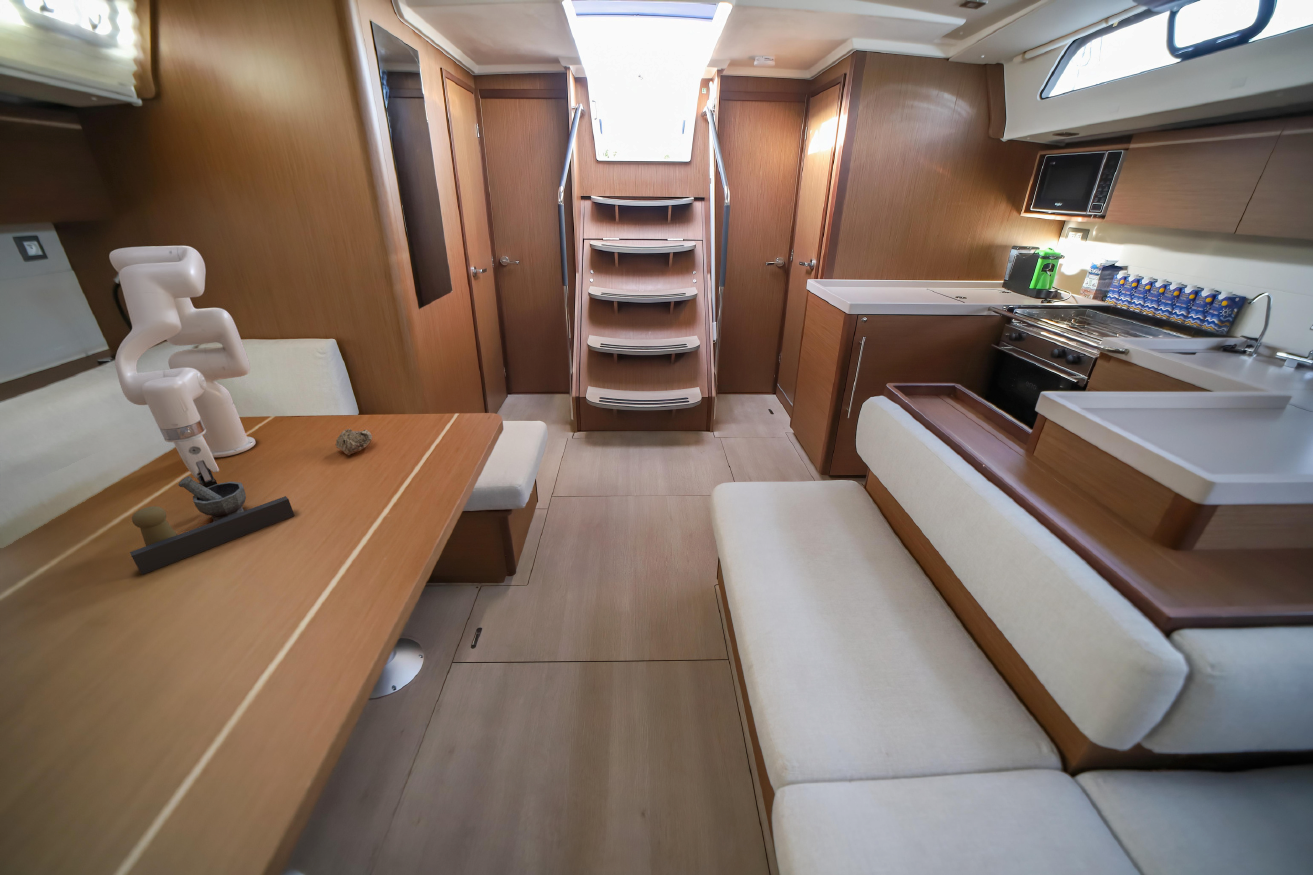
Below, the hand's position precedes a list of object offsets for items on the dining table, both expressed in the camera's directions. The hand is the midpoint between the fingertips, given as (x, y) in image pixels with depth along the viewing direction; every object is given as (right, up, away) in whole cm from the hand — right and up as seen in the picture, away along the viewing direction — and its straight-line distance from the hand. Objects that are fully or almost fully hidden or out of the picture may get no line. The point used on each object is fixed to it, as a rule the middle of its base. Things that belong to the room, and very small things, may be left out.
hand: (213, 495), depth 126 cm
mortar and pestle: (+5, -5, -2) cm, 8 cm away
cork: (+3, -11, -15) cm, 19 cm away
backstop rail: (+13, -9, -11) cm, 19 cm away
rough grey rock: (+18, +11, +30) cm, 37 cm away
